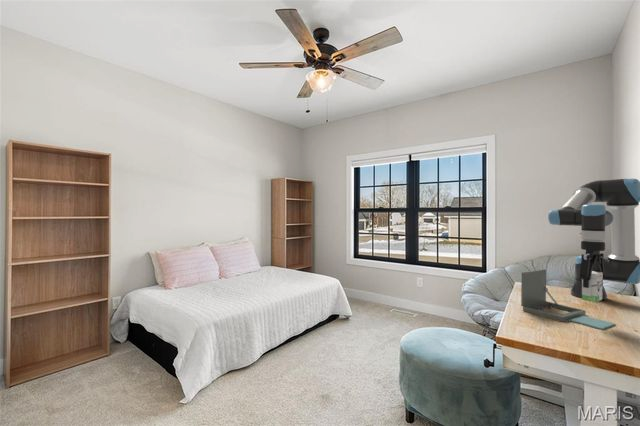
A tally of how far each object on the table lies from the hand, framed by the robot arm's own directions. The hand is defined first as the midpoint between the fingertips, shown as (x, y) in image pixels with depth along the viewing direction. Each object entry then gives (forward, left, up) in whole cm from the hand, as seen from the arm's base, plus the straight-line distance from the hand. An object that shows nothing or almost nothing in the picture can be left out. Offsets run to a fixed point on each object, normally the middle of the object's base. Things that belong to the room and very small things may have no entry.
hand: (592, 293), depth 126 cm
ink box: (0, 0, -3) cm, 3 cm away
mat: (0, 0, -12) cm, 12 cm away
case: (0, -14, -12) cm, 19 cm away
